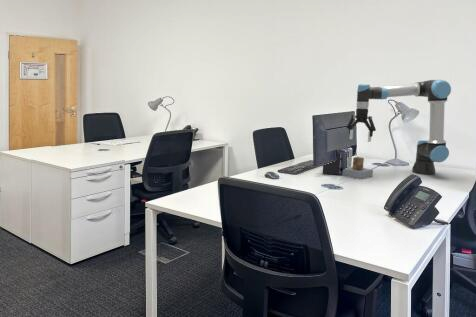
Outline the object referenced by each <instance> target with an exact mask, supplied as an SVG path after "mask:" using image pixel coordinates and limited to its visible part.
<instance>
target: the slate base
mask: <svg viewBox="0 0 476 317" xmlns="http://www.w3.org/2000/svg"><path fill="white" fill-rule="evenodd" d="M341 174H342V175H341V176H343V177H348V178H353V179H358V180H364V179H367V178H372V177H374V176H373V175H374V169H370V168H364V167H363V170H360V171H358V170H353V166H351V167H350V168H345V169H343V170H342V173H341Z"/></svg>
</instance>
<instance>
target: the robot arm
mask: <svg viewBox="0 0 476 317" xmlns="http://www.w3.org/2000/svg"><path fill="white" fill-rule="evenodd" d="M356 93H357V94H356V110H355V114H351V118H350V120H349V121H348V124H347V126H346V129H348V135H349V140H353V139H354V127H355V126H357V124H358V123H363V124H364V125H365V126H366V129H367V130H368V132H367V133H368V134H367V142H371V141H372V137H373V135H374V134H373V132H376V131H377V130H376V127H375V123H374V120H373V116H372V115H368V114H369V102H370V100H386V99H387V98H396V97H397V98H398V97H408V96H414V97H425V98H427V102H428V103H429V134H428V135H429V139H428V140H421V139H420V140H418V141H417V144H416V153H415V162H414V164H413V166H412V169H411V170H412V171H411V172H412V173H413V174H414V173H415V174H419V175H435V174H436V167H435V164H434V163H442V162H444V161H446V160H447V159H448V158H449V155H450V150H449V148H448V147H447V141H446V140H445V139H444V135H445V132H444V131H445V107H446V106H445V103H446V102H447V101H448V97H449V96H450V94H451V93H452V87H451V85H450V83H449V82H448V81H446V80H444V79H429V80H424V81H418V82H417V81H416V82H414V83H412V84H411V83H410V84H399V85H388V86H386V85H385V86H374V87H373V86H371V85H370V84H367V83H366V84H363V83H362V84H358V86H357V89H356Z"/></svg>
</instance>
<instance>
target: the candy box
mask: <svg viewBox="0 0 476 317" xmlns="http://www.w3.org/2000/svg"><path fill="white" fill-rule="evenodd" d="M348 149H349V157H348V161H347V164H348V168H350V167H352V164H353V150H354V149H353V148H352V147H350V148H348Z"/></svg>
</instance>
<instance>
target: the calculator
mask: <svg viewBox="0 0 476 317" xmlns="http://www.w3.org/2000/svg"><path fill="white" fill-rule="evenodd" d="M340 158H341V153H337V160H336V161H335V162H332V163H329V164H326V165H323V164H322V174H323V175H332V176H333V175H335V176H340V170H341V169H340Z"/></svg>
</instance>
